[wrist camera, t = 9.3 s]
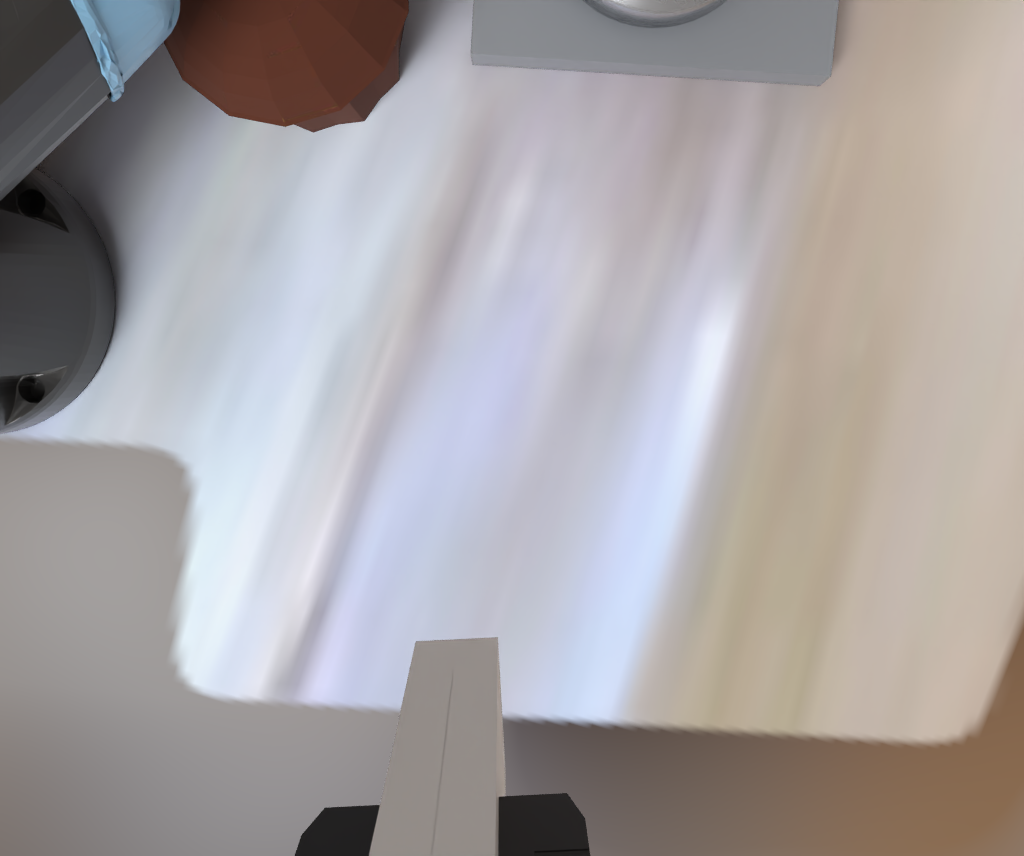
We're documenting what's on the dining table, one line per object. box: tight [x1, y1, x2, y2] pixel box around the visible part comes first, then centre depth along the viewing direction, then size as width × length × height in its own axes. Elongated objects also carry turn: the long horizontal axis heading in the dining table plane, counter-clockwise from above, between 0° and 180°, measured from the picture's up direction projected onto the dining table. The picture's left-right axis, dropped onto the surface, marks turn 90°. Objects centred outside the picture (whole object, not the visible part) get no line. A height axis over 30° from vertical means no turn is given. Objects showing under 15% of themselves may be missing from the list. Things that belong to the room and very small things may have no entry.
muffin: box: [164, 0, 409, 132], centre depth 35 cm, size 12×11×10 cm
